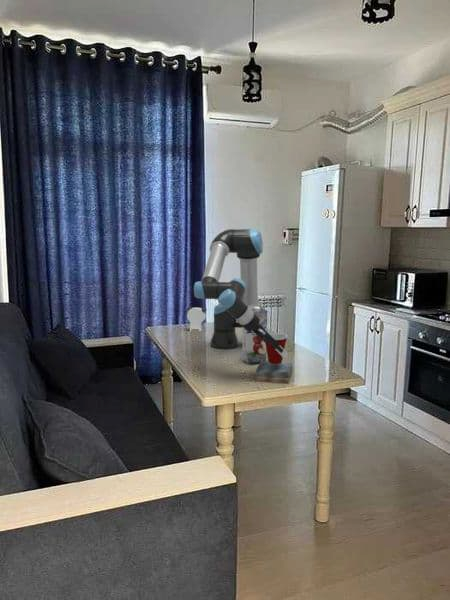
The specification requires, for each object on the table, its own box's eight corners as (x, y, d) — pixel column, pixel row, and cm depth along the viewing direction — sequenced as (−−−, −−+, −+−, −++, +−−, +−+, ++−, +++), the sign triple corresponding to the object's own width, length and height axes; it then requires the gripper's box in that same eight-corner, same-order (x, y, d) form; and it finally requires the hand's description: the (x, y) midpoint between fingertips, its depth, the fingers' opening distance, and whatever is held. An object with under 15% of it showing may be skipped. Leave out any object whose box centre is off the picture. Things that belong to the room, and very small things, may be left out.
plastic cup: (260, 358, 206) (260, 332, 205) (284, 358, 207) (284, 332, 206) (264, 366, 196) (264, 338, 194) (289, 365, 197) (290, 338, 195)
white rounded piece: (208, 329, 291) (208, 306, 289) (203, 333, 280) (203, 309, 278) (190, 328, 294) (189, 305, 291) (184, 332, 283) (184, 308, 280)
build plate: (254, 380, 195) (254, 371, 194) (262, 367, 214) (262, 358, 213) (288, 383, 191) (288, 374, 191) (292, 369, 211) (292, 361, 210)
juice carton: (240, 360, 225) (241, 305, 220) (259, 358, 229) (260, 304, 225) (248, 365, 217) (249, 308, 212) (268, 362, 221) (269, 307, 216)
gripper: (233, 320, 205) (266, 353, 212) (250, 331, 184) (286, 366, 191) (245, 308, 206) (277, 341, 213) (263, 317, 185) (298, 353, 192)
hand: (281, 353), depth 202 cm, fingers closed on plastic cup, 9 cm apart
